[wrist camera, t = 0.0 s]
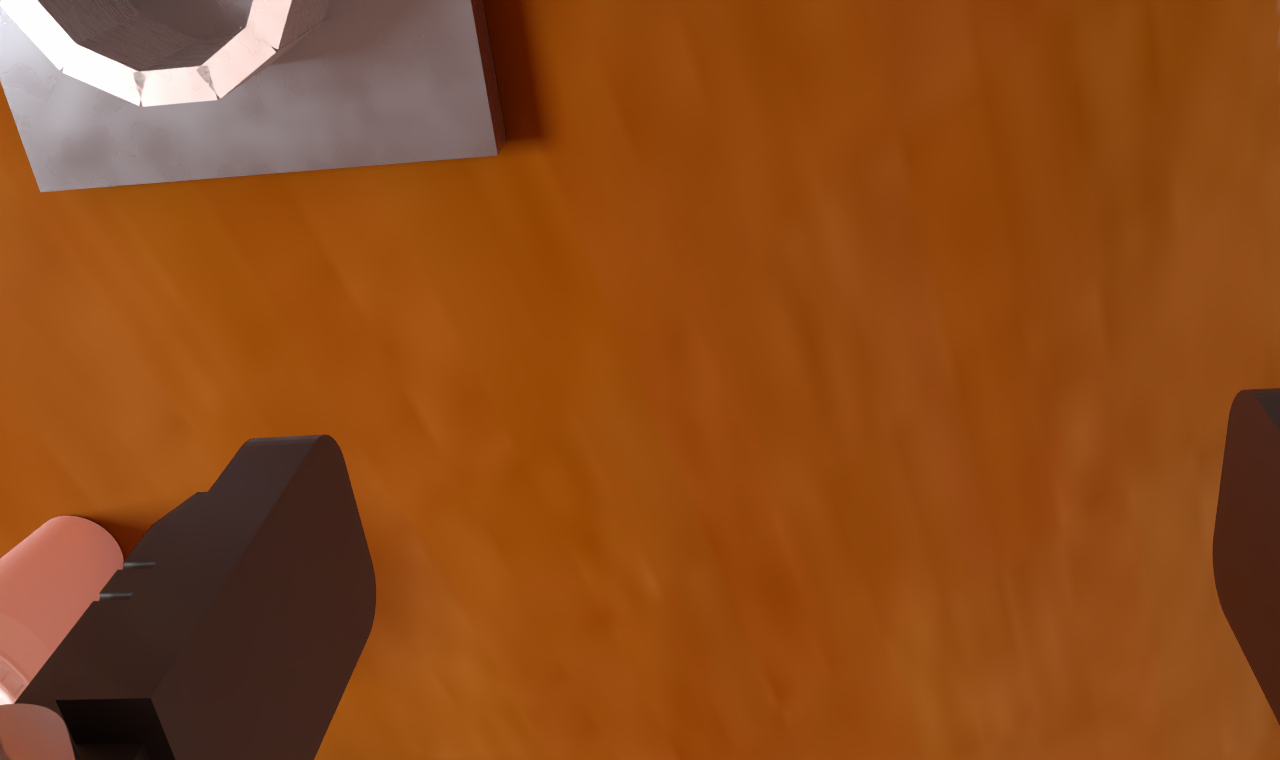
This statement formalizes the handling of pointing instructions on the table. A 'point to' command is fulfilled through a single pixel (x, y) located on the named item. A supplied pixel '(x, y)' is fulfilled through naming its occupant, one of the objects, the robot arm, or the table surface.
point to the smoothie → (49, 593)
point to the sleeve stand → (244, 86)
